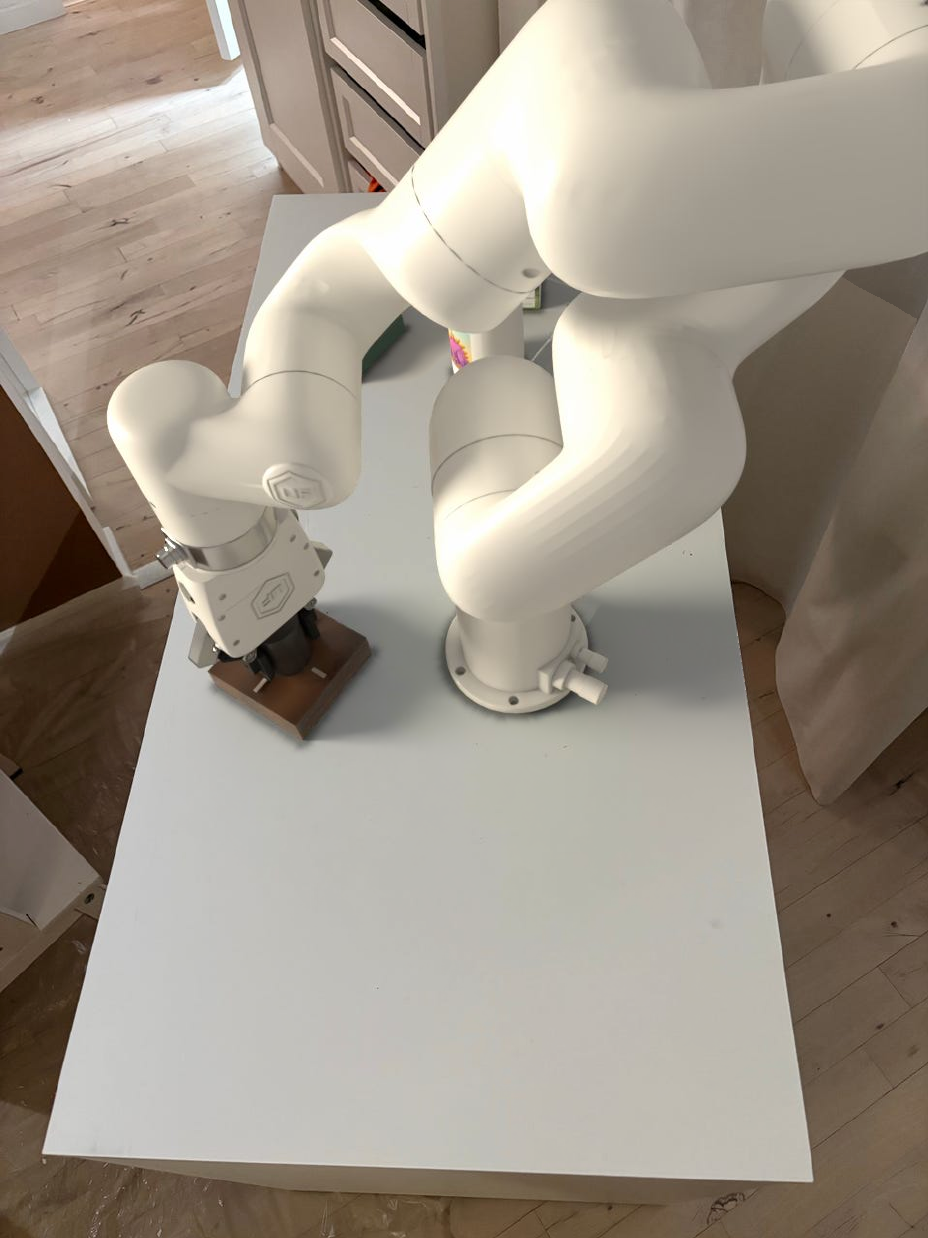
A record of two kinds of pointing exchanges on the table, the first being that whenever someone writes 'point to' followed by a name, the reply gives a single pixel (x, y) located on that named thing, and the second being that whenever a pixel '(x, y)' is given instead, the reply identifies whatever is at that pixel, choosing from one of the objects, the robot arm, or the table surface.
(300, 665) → the dial
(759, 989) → the table surface
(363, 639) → the dial base
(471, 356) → the milk bottle
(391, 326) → the button base
